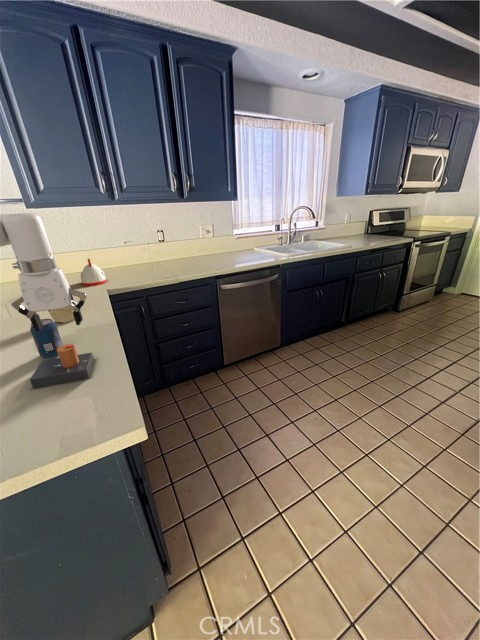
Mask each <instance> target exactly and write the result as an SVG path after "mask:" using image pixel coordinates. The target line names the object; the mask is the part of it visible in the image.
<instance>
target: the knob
mask: <svg viewBox="0 0 480 640" xmlns="http://www.w3.org/2000/svg"><path fill="white" fill-rule="evenodd" d="M57 352H58V355H59V356H58V358H60V361H61V364H62V366H63V367H64V368H69V367H73V366H75V365H77V364H78V363H79V359H78V355H79V354H78V353H77V350H76V347H75V345H74V344H73V343H67V344H63V345H62V346H60V347H59V348H57Z"/></svg>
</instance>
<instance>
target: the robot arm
mask: <svg viewBox="0 0 480 640" xmlns="http://www.w3.org/2000/svg"><path fill="white" fill-rule="evenodd" d="M9 245H10V246H11V248H12V251H13V254H14V256H15V259H16V262H13V263H11V266H12V268H13V269H18V270H19V271H20V273H18V275H17V276H18V283H19V287H20V292H21V295H22V296H20V297H19V298H17V299H16V300H14V301H12V302H11V304H10V306H11V307H12V308H14V309H15V310H16V311H18V313H19V314H21V315H23V316H25V317H26V318H27V319H29V321H30V324H31V323H32V325H33V327H34V328H35V329H36V331H40V330H41V329H42V328H43V324H42V322H41V317H40V315H39V314H38V312H46V311H48V310H54V309H61V308H66V307H69V308H70V309H72V310H73V311H74V312H73V316H74V319H73V320H74V322H75V325H76V326H80V325H81V323H82V321H83V315H82V311H81V309H82V307H83V306H84V304H85V303H86V299H87V293H86V292H82V291H79V290H75V289H72V288H71V287H70V284H69V282H68V279H67V278H66V275H65V273H64V272H63V270H62V269H61V268H60V267H58V266H57V263H56V259H55V256H54V254H53V250H52V247H51V244H50V241H49V239H48V235H47V231H46V228H45V226H44V222H43V220H42V218H41V216H40V215H38V214H37V213H33V212H19V213H8V214H6V213H0V248H1V247H5V246H9ZM74 297H77V298H79V300H78V302H76V301H75V300H74ZM23 303H24V305H25V306H23Z"/></svg>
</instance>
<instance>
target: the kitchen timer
mask: <svg viewBox="0 0 480 640" xmlns="http://www.w3.org/2000/svg"><path fill="white" fill-rule="evenodd" d="M80 280H81V285H82V286H85V287H91V286H93V287H95V286H100V285H102V284H105V283H107V278H106V275H105V272H104V270H103V269H101V268H100V267H99V266H97V265H96V264H93V263H91V259H90V258H87V264H86V265H85V266H84V267H83V268H82V271H81V272H80Z"/></svg>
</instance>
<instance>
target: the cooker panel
mask: <svg viewBox="0 0 480 640" xmlns="http://www.w3.org/2000/svg"><path fill="white" fill-rule="evenodd" d="M77 355H78V359H79V363H78V364H77V365H75V366H73V367H69V368H64V367H63V366H62V364H61V361H60V358H59V357H55V358H50V359H44V360H41V361H40V363H39V364H38V366H37V367H36V369H35V371H34V372H33V373H32V375H31V377H30V378H29V381H30V384H31V386H32V389H38V388H43V387H49V386H53V385H59V384H65V383H70V382H74V381H80V380H85V379H89V378H90V376H91V373H92V370H93V367H94V364H95V357H94V354H93V352H87V353H80V354H77Z"/></svg>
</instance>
